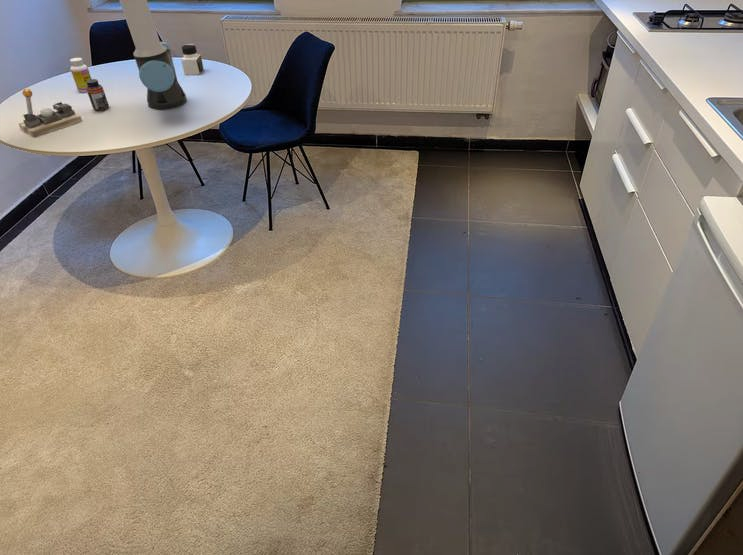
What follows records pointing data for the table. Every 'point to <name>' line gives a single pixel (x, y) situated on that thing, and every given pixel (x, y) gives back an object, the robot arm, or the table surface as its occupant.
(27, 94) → the lever
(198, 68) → the medicine bottle
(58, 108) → the rocker
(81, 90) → the supplement bottle
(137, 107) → the table surface
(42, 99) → the table surface
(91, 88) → the supplement bottle
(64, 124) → the panel
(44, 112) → the button
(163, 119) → the table surface
